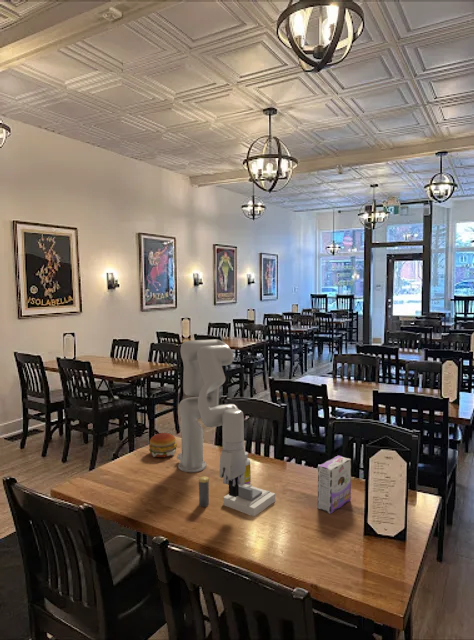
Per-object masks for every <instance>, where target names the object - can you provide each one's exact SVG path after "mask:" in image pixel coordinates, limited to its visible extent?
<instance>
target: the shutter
mask: <svg viewBox="0 0 474 640" xmlns="http://www.w3.org/2000/svg"><path fill="white" fill-rule="evenodd" d="M261 494H262V491H259V490H256V489H253V488H250V487H244V486H241V485H239V495H238V496H239V497H242V498H245V499H248V500H251V501H252V500H254V499H255V498H256V497H258V496H259V495H261Z"/></svg>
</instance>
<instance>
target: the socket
mask: <svg viewBox="0 0 474 640" xmlns="http://www.w3.org/2000/svg"><path fill="white" fill-rule="evenodd" d="M242 486H244V487H250V488H253V489H256V490H259V491H262V494H261V495H259V496H258V497H256V498H255V499H254V500H252V501H251V500H248V499H245V498H242V497H239V496H237V497H233V496H230V495H229V493H228V494H226V495H225V496H222V498H223V500H222V501H223V502H222V506H225V507H227V508H230V509H233V510H236V511H237V512H241V513H243V514H246V515H249V516H250V517H256V516H257V515H259V514H260V513H261V512H263V511H264V510H265V509H267V508H268V507H270V506H271V505H272V504H274V503H275V502H276V493H275V492H271V490H265V489H263V488H259V487H256V486H254V485H252V484H249V485H247V484H244V485H242Z"/></svg>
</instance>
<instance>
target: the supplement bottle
mask: <svg viewBox="0 0 474 640" xmlns="http://www.w3.org/2000/svg"><path fill="white" fill-rule="evenodd" d="M245 459H246V469H245V472H244V474H243V475H242V476H241V478H240V483H239V484H238V485H241V486H242V485H244V484H247V485H251V482H252V479H251V477H252V476H251V474H252V473H251V472H252V471H251V469H252V468H251V459H250V458H249V452H248V451H245Z"/></svg>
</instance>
